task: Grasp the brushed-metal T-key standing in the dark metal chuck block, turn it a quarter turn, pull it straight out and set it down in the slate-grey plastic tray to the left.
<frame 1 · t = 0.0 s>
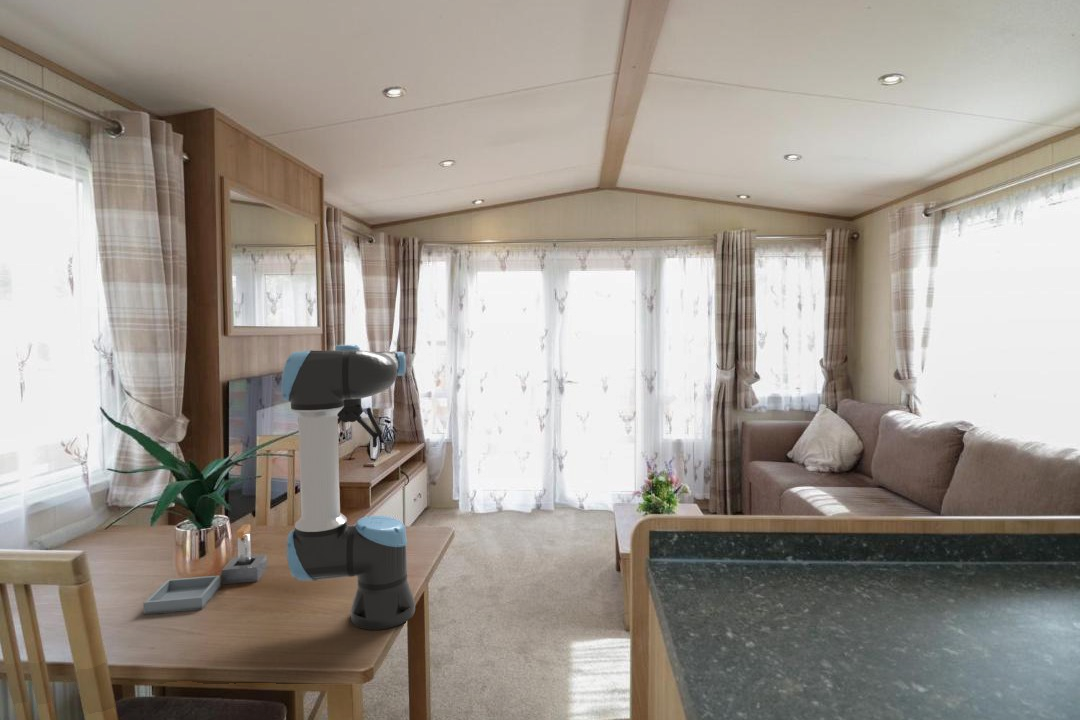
hand: (350, 458, 182), 28 cm above the table, fingers open, 13 cm apart
t key: (244, 551, 159), in the chuck block
chuck block: (245, 575, 160), on the table
tray: (184, 599, 146), on the table
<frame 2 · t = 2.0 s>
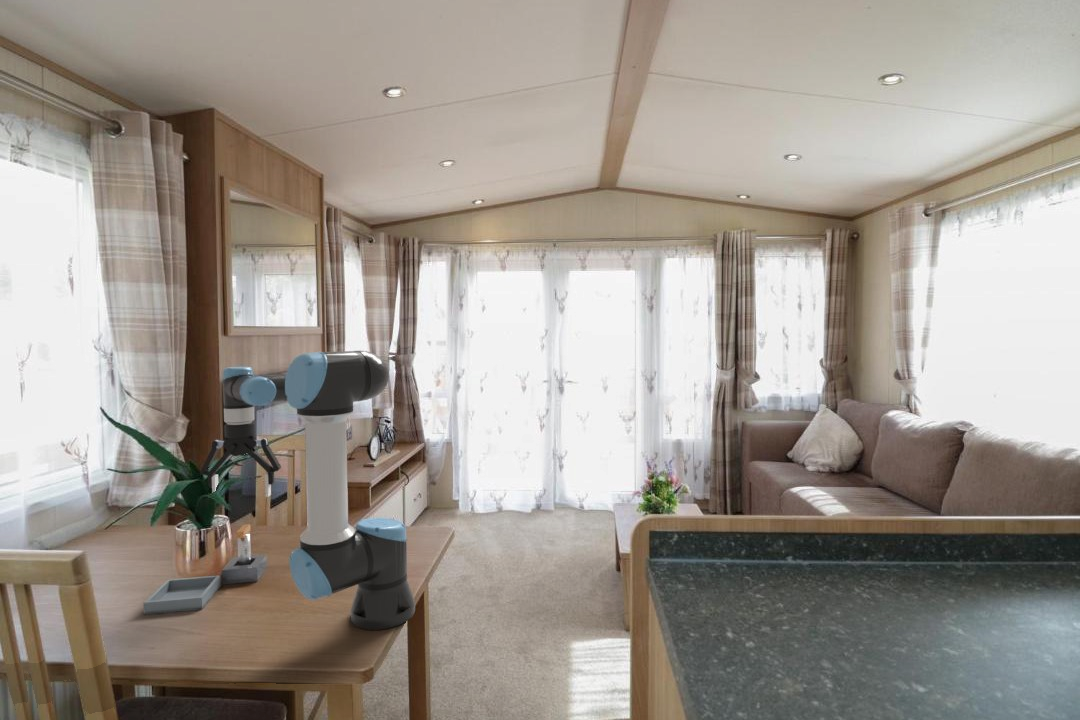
hand: (242, 497, 159), 23 cm above the table, fingers open, 13 cm apart
nothing on the table moved.
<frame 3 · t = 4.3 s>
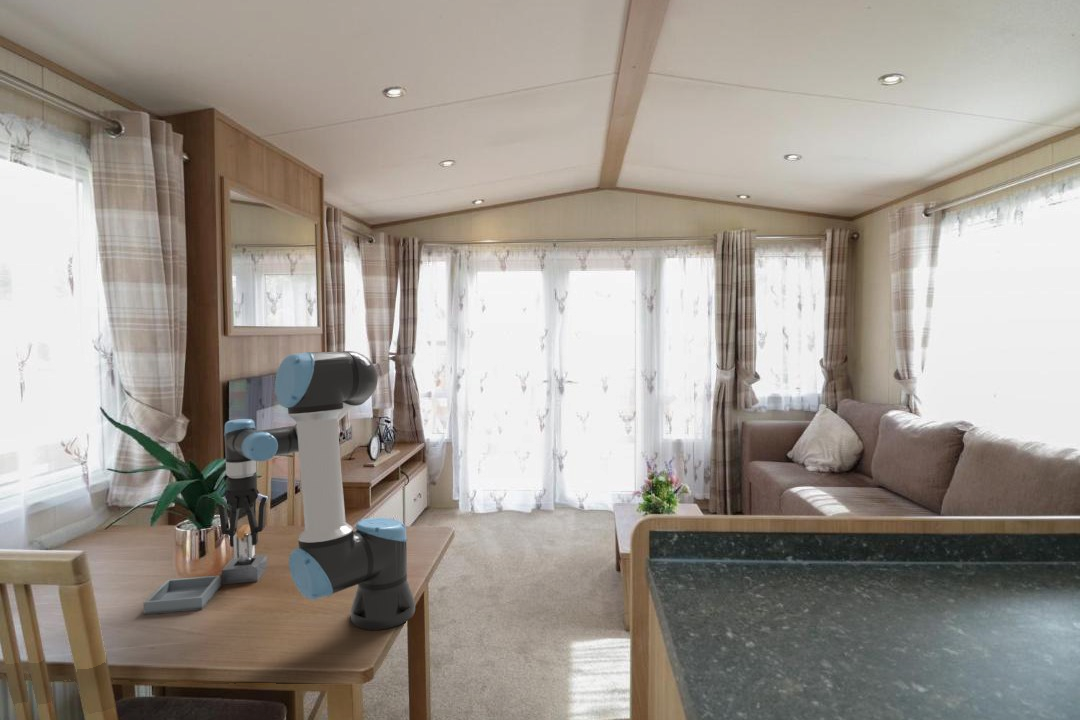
hand: (244, 556, 159), 6 cm above the table, fingers closed on t key, 3 cm apart
t key: (244, 551, 159), in the chuck block, touching gripper
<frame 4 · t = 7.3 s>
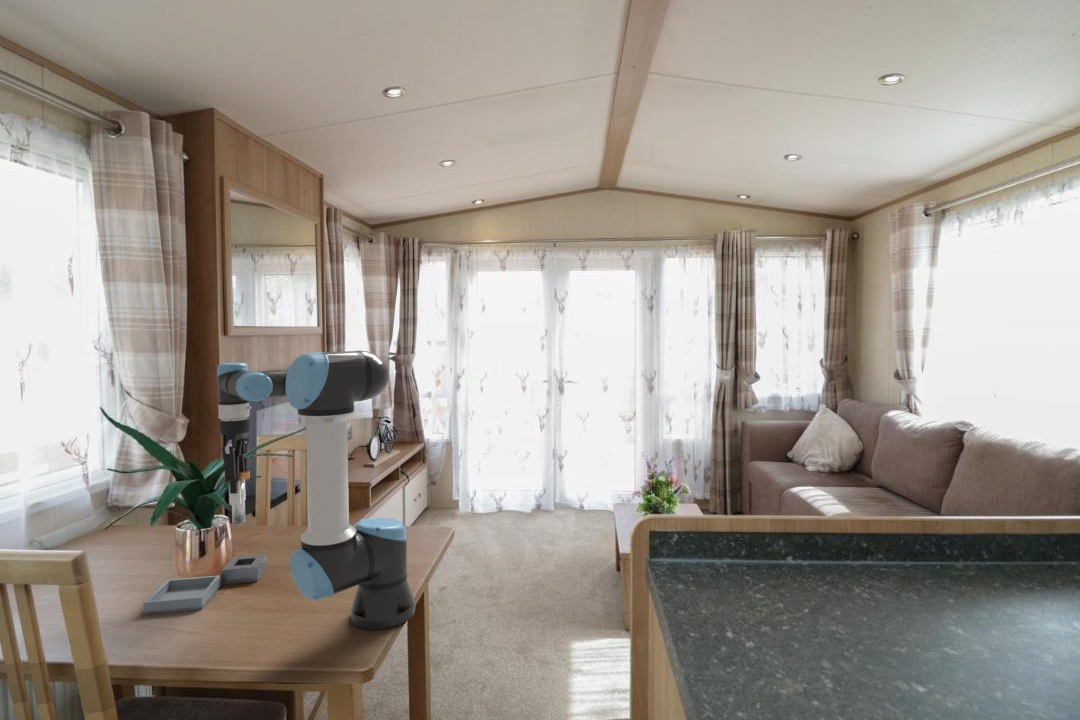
hand: (237, 502, 157), 22 cm above the table, fingers closed on t key, 3 cm apart
t key: (238, 497, 157), point 23 cm above the table, touching gripper
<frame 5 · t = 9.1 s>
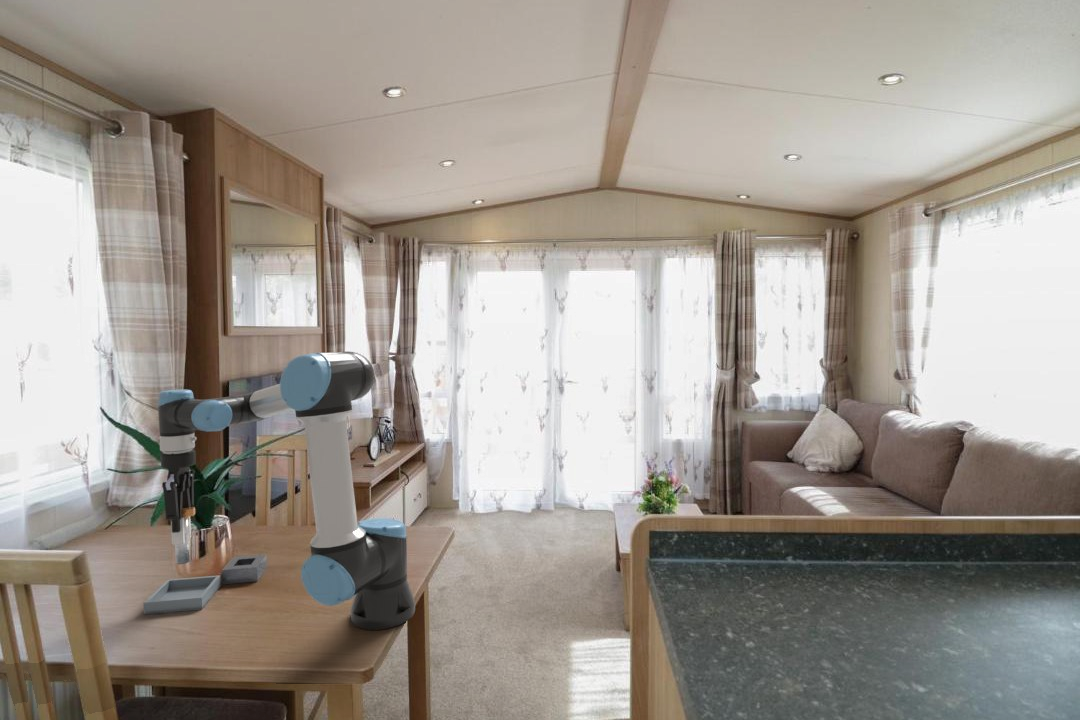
hand: (181, 540, 145), 16 cm above the table, fingers closed on t key, 3 cm apart
t key: (181, 535, 145), point 17 cm above the table, touching gripper
when the fingers open (7 cm above the table, at t = 10.4 s): t key drops 1 cm, resting on tray.
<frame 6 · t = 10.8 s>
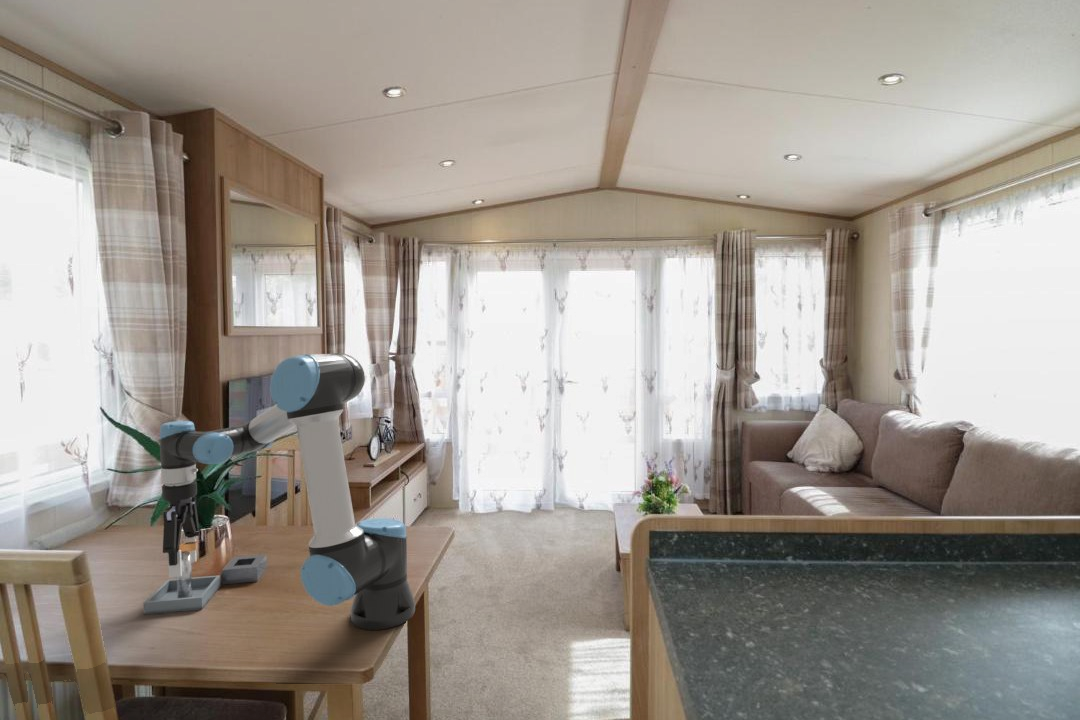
hand: (183, 568, 145), 8 cm above the table, fingers open, 8 cm apart
t key: (184, 570, 146), in the tray, point 8 cm above the table
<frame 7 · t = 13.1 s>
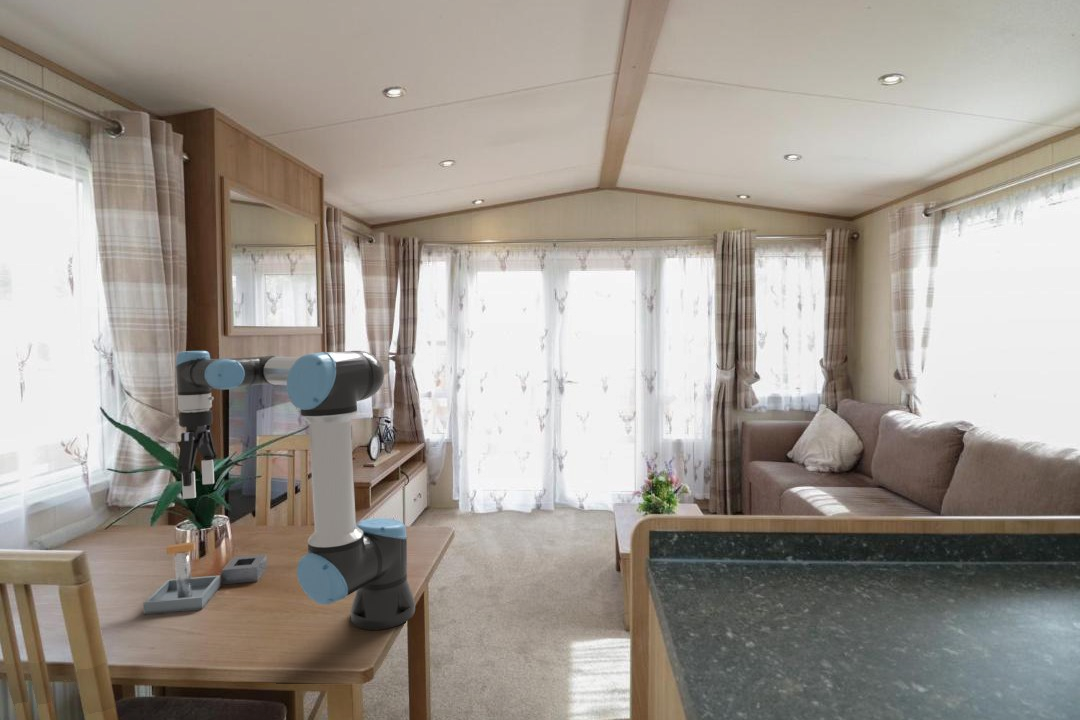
hand: (199, 490, 148), 27 cm above the table, fingers open, 13 cm apart
nothing on the table moved.
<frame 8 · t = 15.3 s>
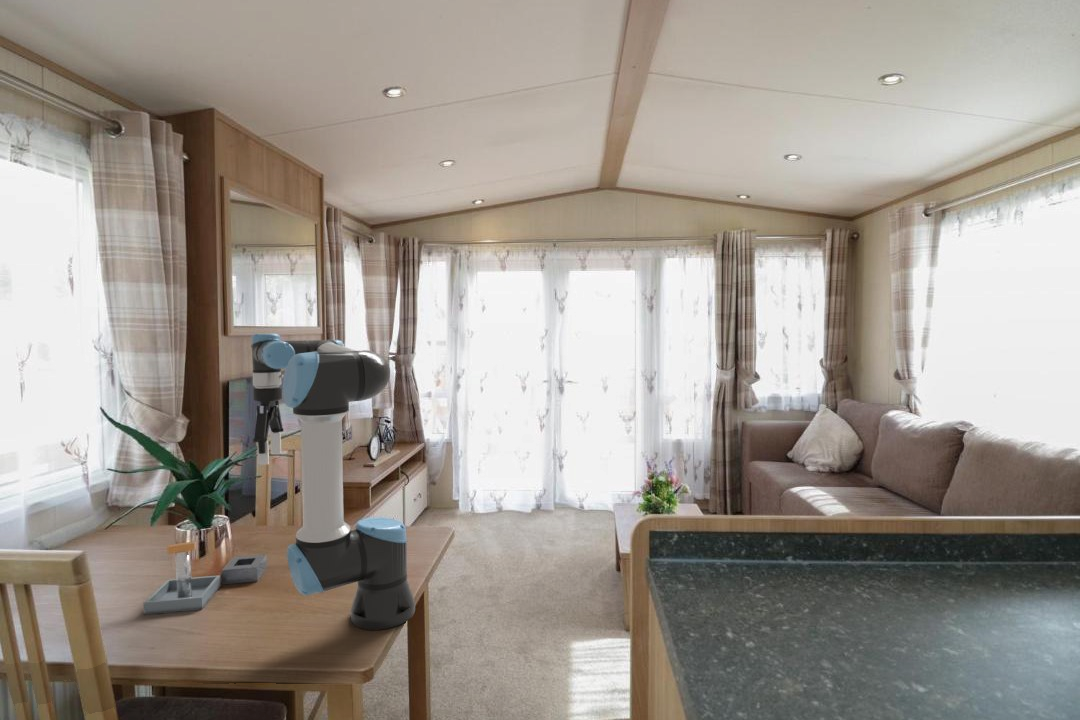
hand: (270, 459, 165), 32 cm above the table, fingers open, 13 cm apart
nothing on the table moved.
at the end: t key inside the target area on the tray (0.1 cm from its centre), point 7.5 cm above the tray's base; t key touching tray; the gripper is holding nothing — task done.
